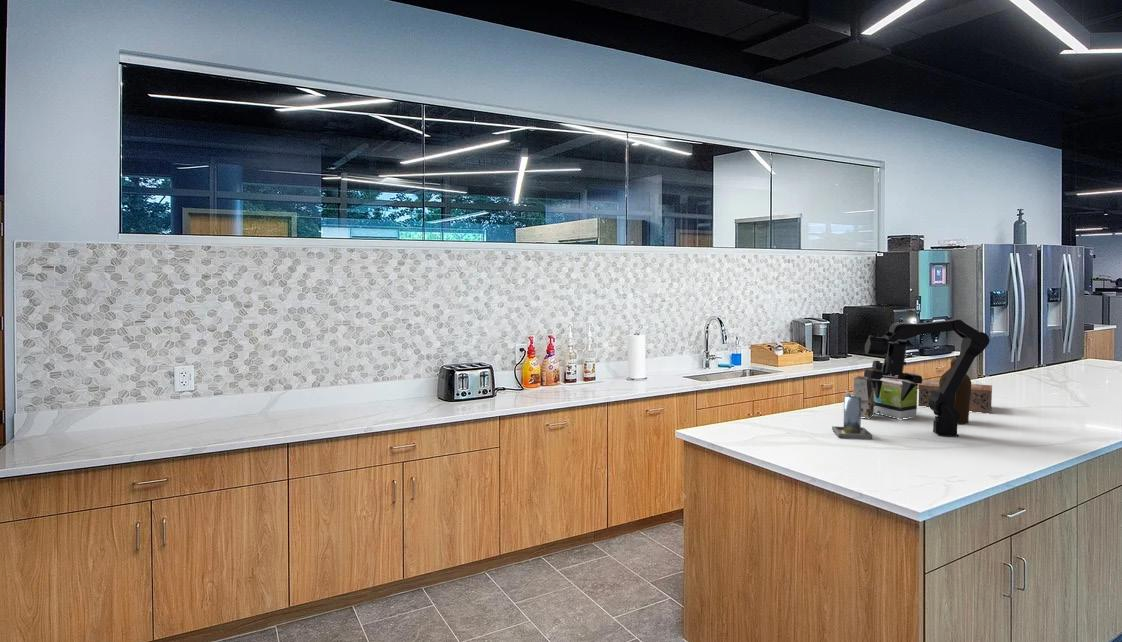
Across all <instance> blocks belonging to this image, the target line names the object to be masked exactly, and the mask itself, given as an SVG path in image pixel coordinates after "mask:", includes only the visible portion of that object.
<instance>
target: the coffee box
mask: <svg viewBox="0 0 1122 642" xmlns="http://www.w3.org/2000/svg"><path fill="white" fill-rule="evenodd" d="M852 391H853V393H852V394H854V395H856V396H859V397H861V417H865V418H870V417H871V416H872V415H873V416H874V387H873V384H872V382H871V381H870V380H869V379H867V377H865V376H864V375H863V376H861V375H860V376H859V375H858V376H856V377H854V378H853V390H852ZM873 416H872V417H873ZM872 417H871V418H872ZM871 418H870V419H871Z"/></svg>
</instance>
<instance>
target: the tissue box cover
mask: <svg viewBox="0 0 1122 642" xmlns="http://www.w3.org/2000/svg"><path fill="white" fill-rule="evenodd" d="M933 390H937V391H938V390H939V381H937V380H936V381H935V380H929V379H927V380H925V379H923V380H922V384H919V383H918V403H917V405H918V406H926V407H929V405H928V402H929V399H928V398H929V397H930V396H931V394H932V391H933ZM992 394H993V385H991V384H979V383H971V395H970V405H969V411H972V412H971V413H976V412H982V413H981V414H986V413H990V414H991V411H992V400H993V399H992V396H993V395H992ZM918 406H917V407H918ZM926 407H925V408H926Z"/></svg>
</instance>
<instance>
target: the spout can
mask: <svg viewBox="0 0 1122 642" xmlns="http://www.w3.org/2000/svg"><path fill="white" fill-rule="evenodd" d="M844 391H845V393H846V394H847V395H844V396H843V427H844V429H843V432H844V433H850V434H860V433H861V427H862V426H861V424H862V423H861V422H862V421H861V420H862V418H861V397H859V396H856V395H854V394H853V393H852V394H851V392H850V391H849V389H846V390H844Z"/></svg>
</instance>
